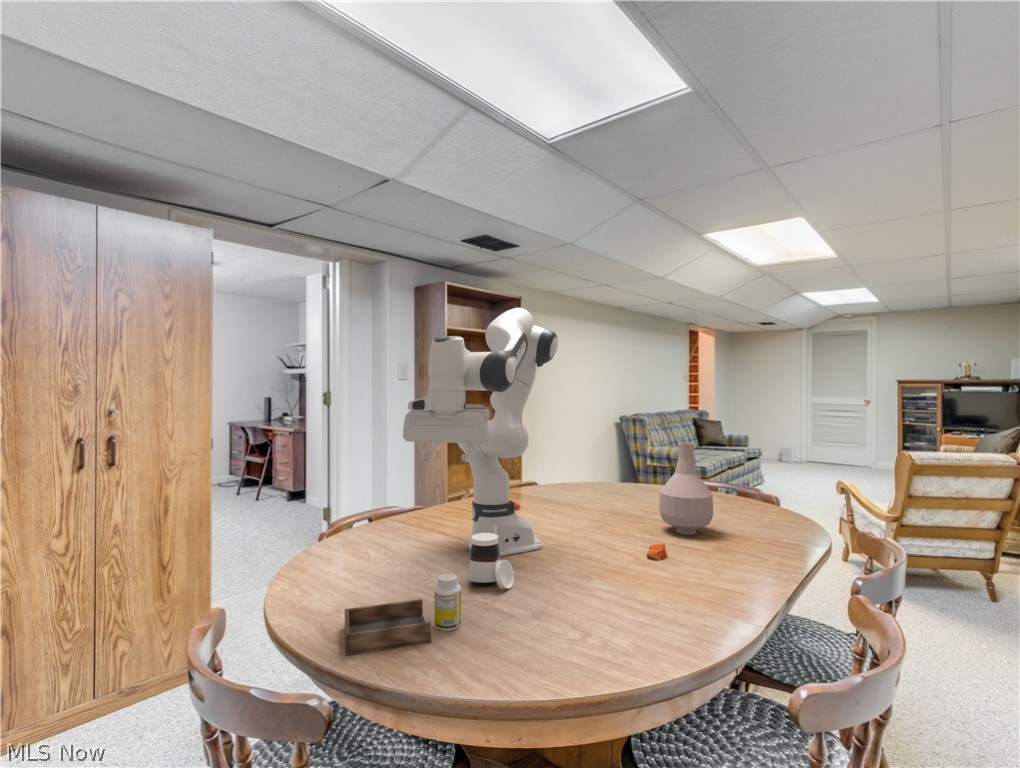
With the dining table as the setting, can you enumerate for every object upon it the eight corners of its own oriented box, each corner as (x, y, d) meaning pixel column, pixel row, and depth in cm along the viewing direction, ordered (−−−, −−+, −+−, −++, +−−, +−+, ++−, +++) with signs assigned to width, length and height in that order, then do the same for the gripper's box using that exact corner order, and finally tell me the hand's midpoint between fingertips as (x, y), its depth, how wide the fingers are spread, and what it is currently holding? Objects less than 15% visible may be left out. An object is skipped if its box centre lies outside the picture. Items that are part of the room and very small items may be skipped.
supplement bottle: (448, 617, 113) (448, 570, 113) (466, 625, 109) (466, 576, 109) (428, 626, 109) (428, 577, 109) (447, 634, 105) (447, 584, 105)
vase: (718, 529, 179) (718, 442, 179) (707, 542, 165) (707, 447, 164) (667, 522, 189) (667, 439, 189) (652, 534, 174) (652, 444, 174)
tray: (422, 616, 113) (421, 599, 113) (431, 642, 102) (431, 623, 102) (344, 627, 108) (344, 609, 108) (345, 656, 97) (345, 635, 97)
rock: (629, 562, 149) (629, 547, 149) (640, 549, 160) (640, 536, 160) (672, 568, 144) (672, 553, 144) (681, 555, 154) (681, 541, 154)
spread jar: (471, 574, 138) (471, 530, 138) (514, 575, 137) (514, 531, 137) (466, 593, 126) (466, 545, 126) (513, 593, 125) (513, 545, 125)
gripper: (491, 404, 126) (490, 461, 126) (409, 402, 128) (408, 458, 128) (487, 404, 120) (486, 465, 119) (401, 402, 122) (399, 461, 122)
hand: (445, 461), depth 124 cm, fingers open, 8 cm apart
